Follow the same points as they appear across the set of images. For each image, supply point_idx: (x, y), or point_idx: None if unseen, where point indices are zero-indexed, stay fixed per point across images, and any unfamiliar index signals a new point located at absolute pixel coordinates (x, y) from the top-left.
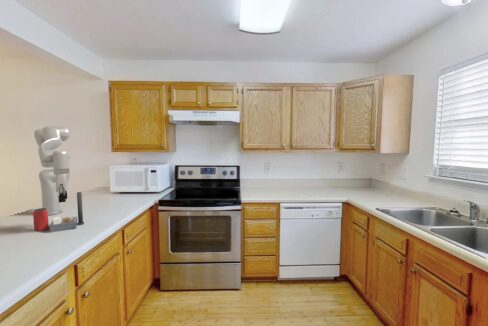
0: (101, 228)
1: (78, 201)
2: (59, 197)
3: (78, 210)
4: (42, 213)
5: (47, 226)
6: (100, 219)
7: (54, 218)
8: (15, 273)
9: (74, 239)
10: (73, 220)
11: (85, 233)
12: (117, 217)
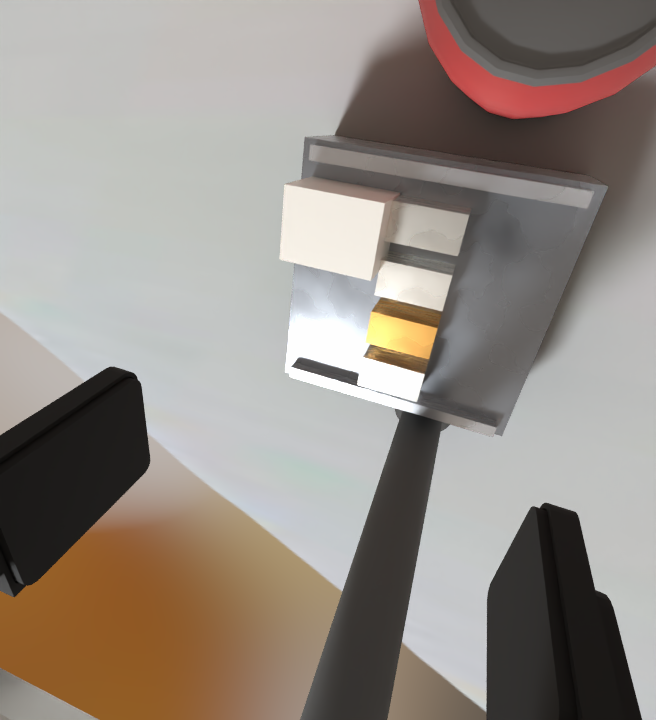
0: (214, 452)
1: (340, 606)
2: (9, 449)
3: (383, 489)
4: (419, 2)
5: (479, 105)
6: (457, 538)
7: (332, 204)
8: None
9: (70, 279)
10: (354, 370)
11: (157, 357)
12: (416, 610)
